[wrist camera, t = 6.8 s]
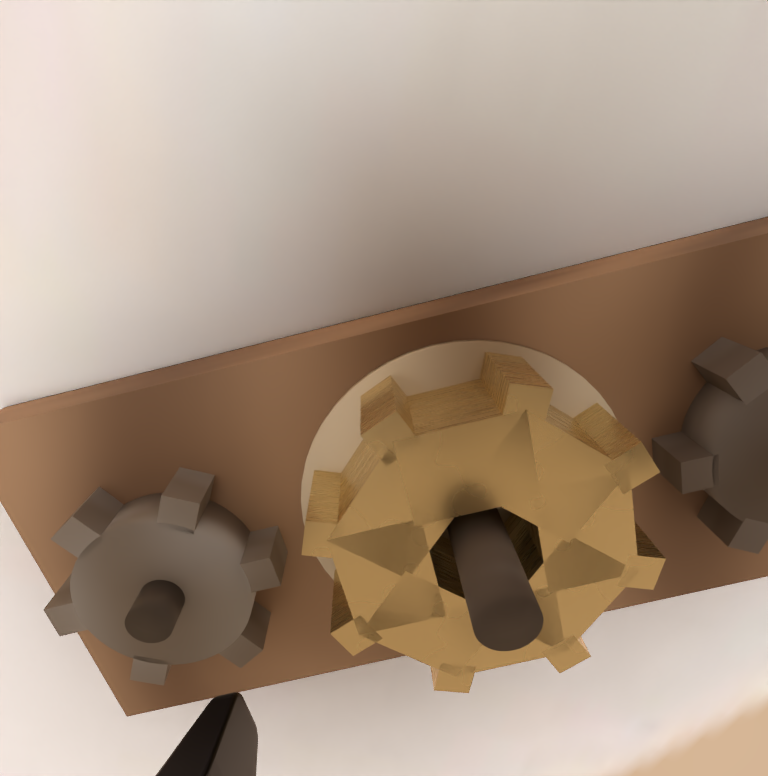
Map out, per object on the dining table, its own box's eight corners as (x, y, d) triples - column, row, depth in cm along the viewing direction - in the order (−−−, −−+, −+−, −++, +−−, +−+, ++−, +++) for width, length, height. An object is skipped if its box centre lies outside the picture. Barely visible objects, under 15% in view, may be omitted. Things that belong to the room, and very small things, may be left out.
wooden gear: (602, 322, 11) (652, 349, 9) (629, 586, 14) (671, 649, 12) (277, 402, 11) (260, 444, 10) (360, 645, 14) (360, 716, 12)
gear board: (865, 192, 12) (1243, 191, 7) (840, 516, 15) (1087, 683, 10) (3, 407, 13) (-231, 549, 8) (147, 670, 16) (46, 896, 11)
